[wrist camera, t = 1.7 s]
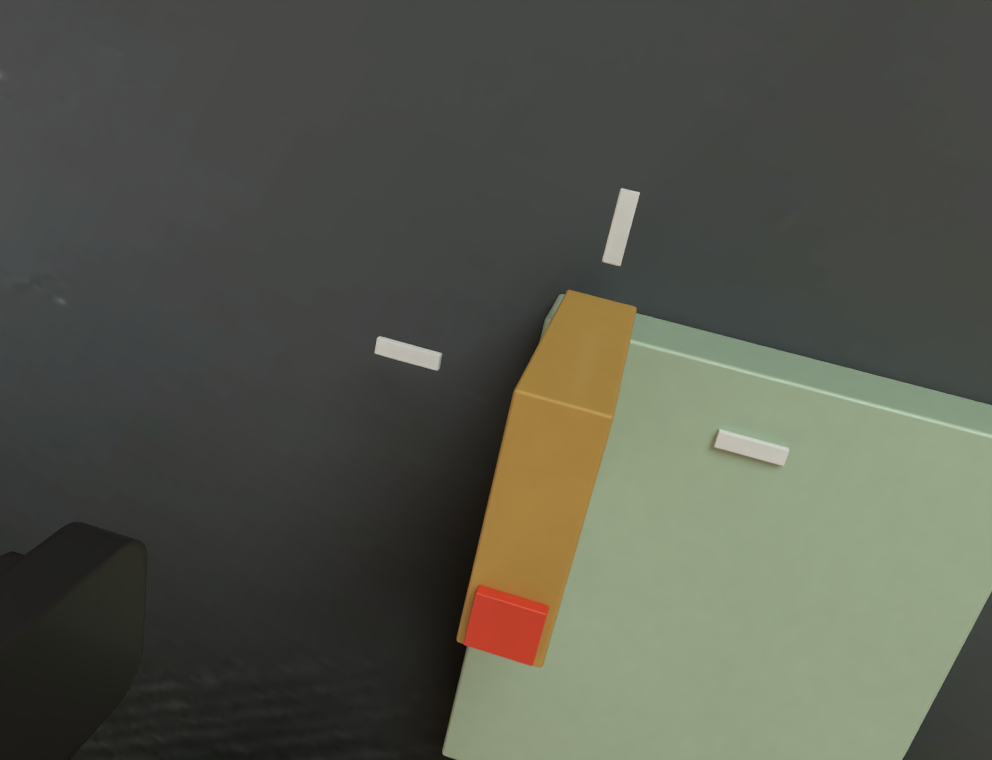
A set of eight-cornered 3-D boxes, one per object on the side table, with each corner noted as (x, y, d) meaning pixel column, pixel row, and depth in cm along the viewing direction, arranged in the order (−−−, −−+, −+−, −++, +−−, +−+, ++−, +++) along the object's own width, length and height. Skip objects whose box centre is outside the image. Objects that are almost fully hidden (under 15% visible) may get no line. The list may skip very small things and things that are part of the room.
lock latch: (567, 288, 16) (510, 395, 11) (637, 306, 16) (612, 424, 11) (519, 481, 18) (450, 652, 13) (582, 499, 18) (539, 680, 13)
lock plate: (439, 129, 18) (408, 137, 16) (1090, 285, 16) (1146, 316, 14) (347, 664, 24) (316, 720, 22) (824, 819, 22) (837, 893, 20)
